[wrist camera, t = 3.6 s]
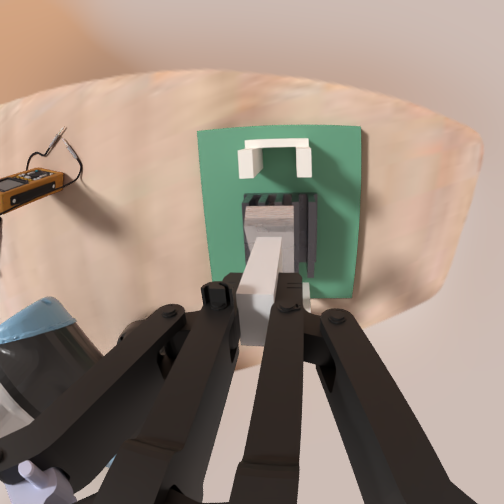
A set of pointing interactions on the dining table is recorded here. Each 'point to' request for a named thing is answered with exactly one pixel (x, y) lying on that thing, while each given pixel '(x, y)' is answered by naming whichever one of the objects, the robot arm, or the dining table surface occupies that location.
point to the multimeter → (31, 184)
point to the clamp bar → (272, 229)
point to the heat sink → (302, 223)
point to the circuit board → (285, 180)
